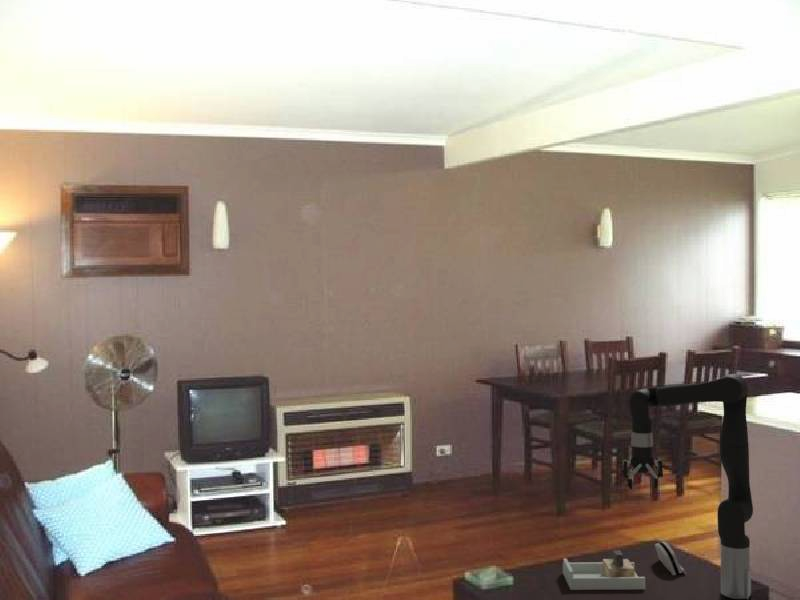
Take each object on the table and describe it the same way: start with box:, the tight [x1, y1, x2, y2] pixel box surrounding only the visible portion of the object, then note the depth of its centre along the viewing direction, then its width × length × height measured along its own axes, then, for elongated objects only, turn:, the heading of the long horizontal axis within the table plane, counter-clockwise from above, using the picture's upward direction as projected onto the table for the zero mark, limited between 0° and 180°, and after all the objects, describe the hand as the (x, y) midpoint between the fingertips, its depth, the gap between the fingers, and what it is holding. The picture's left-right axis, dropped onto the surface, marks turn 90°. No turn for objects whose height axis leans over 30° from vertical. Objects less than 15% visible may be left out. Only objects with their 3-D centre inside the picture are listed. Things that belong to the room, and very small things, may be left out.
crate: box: [602, 549, 635, 577], centre depth 299 cm, size 9×10×9 cm
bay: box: [562, 557, 646, 591], centre depth 299 cm, size 26×16×6 cm, turn 88°
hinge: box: [654, 541, 687, 576], centre depth 312 cm, size 17×5×10 cm, turn 179°
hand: (642, 488), depth 302 cm, fingers open, 8 cm apart
